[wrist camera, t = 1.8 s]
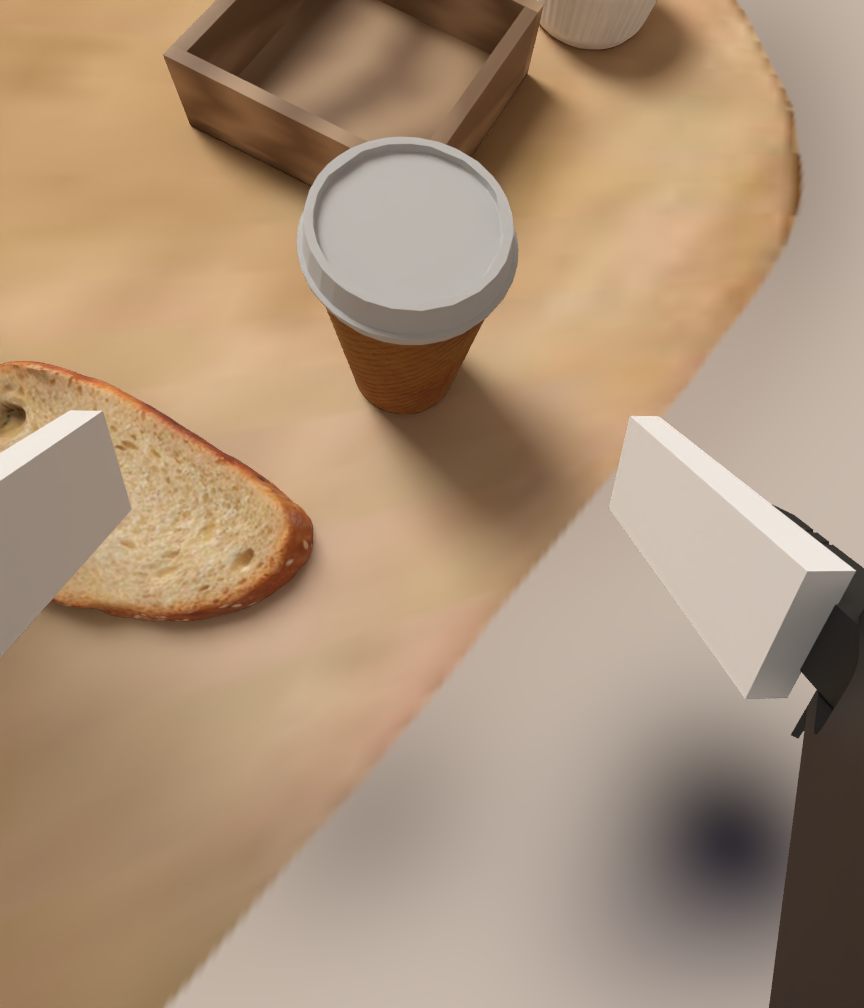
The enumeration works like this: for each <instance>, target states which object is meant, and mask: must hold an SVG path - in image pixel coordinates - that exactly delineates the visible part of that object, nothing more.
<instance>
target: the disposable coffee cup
mask: <svg viewBox="0 0 864 1008" xmlns="http://www.w3.org/2000/svg"><path fill="white" fill-rule="evenodd" d="M297 254H298V258H299V262H300V266H301V270H302V272H303V274H304V276H305V278H306V280H307V283H308V285H309V287H310V289H311V291H312V292H313V293H314V294H315V295H316V297H317V298H318V299H319V300H320V301H321V302H322V303H323V305H324V306H325V307H326V309H327V312H328V314H329V316H330V320H331V322H332V323H333V327H334V329H335V331H336V334H337V336H338V339H339V341H340V343H341V346H342V348H343V351H344V354H345V356H346V358H347V360H348V363H349V365H350V368H351V370H352V373H353V375H354V378H355V381H356V384H357V386H358V388H359V390H360V391H361V393H362V394H363V395H364V396H365V398H366V399H368V400H369V401H370V402H371V403H372V404H373V405H375V406H377V407H379V408H381V409H382V410H385V411H388V412H391V413H399V414H412V413H418V412H421V411H424V410H426V409H429V408H431V407H432V406H434V405H435V404H437V403H438V402H439V401H440V400H441V399H442V398H443V397H444V396H445V394H446V393H447V391H448V390H449V387H450V385H451V383H452V381H453V379H454V378H455V376H456V374H457V372H458V370H459V368H460V366H461V364H462V362H463V360H464V359H465V357H466V355H467V353H468V351H469V348H470V346H471V344H472V343H473V341H474V339H475V337H476V335H477V333H478V331H479V329H480V327H481V325H482V323H483V321H484V319H485V318H487V317H488V316H489V315H490V313H491V312H492V311H493V310H494V309H495V308H496V307H497V306H498V305H499V304H500V302H501V301H502V300H503V299H504V297H505V295H506V293H507V291H508V290H509V288H510V286H511V284H512V282H513V279H514V275H515V272H516V268H517V262H518V243H517V235H516V232H515V229H514V226H513V216H512V212H511V209H510V205H509V202H508V199H507V197H506V195H505V193H504V192H503V190H502V188H501V186H500V185H499V184H498V182H497V181H496V180H495V178H494V177H493V176H492V175H491V174H490V173H489V172H488V171H487V170H486V169H485V168H484V167H483V166H482V165H481V164H480V163H479V162H478V161H476V160H475V159H473V158H471V157H470V156H468V155H466V154H465V153H463V152H461V151H460V150H458V149H456V148H453V147H451V146H448V145H446V144H443V143H440V142H437V141H432V140H427V139H422V138H416V137H388V138H382V139H378V140H373V141H368V142H365V143H363V144H360V145H358V146H355V147H353V148H350V149H349V150H347V151H345V152H344V153H342V154H340V155H339V156H337V157H336V158H335V159H334V160H332V161H331V162H330V163H329V164H327V166H326V167H325V168H324V169H323V170H322V171H321V172H320V174H319V175H318V176H317V178H316V180H315V181H314V183H313V185H312V186H311V188H310V190H309V193H308V196H307V200H306V203H305V209H304V211H303V213H302V215H301V218H300V221H299V226H298V232H297Z"/></svg>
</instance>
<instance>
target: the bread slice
mask: <svg viewBox="0 0 864 1008" xmlns="http://www.w3.org/2000/svg"><path fill="white" fill-rule="evenodd" d="M70 410H77V411H103V413H104V416H105V419H106V423H107V426H108V430H109V433H110V436H111V440H112V443H113V447H114V450H115V453H116V457H117V460H118V464H119V467H120V470H121V474H122V477H123V481H124V484H125V487H126V491H127V494H128V498H129V501H130V504H131V508H132V510H131V511H130V512H129V513H128V514H127V515H126V517H125V518H124V519H123V520H122V521H121V522H120V523H119V525H118V526H117V527H116V528H115V529H114V530H113V531H112V532H111V534H110V535H109V536H108V537H107V538H106V539H105V540H104V541H103V543H102V544H101V545H100V546H99V547H98V548H97V549H96V551H95V552H94V553H93V554H92V555H91V556H90V557H89V558H88V560H87V561H86V562H85V563H84V564H83V565H82V566H81V567H80V569H79V570H78V571H77V572H76V573H75V574H74V575H73V577H72V578H71V579H70V580H69V581H68V582H67V583H66V584H65V586H64V587H63V588H62V589H61V590H60V591H59V592H58V593H57V595H56V596H55V597H54V598H53V599H52V600H53V601H55V602H56V603H58V604H61V605H64V606H68V607H73V608H86V607H91V608H97V609H99V610H102V611H104V612H106V613H108V614H110V615H113V616H118V617H128V618H135V619H140V620H150V621H193V620H201V619H206V618H210V617H214V616H219V615H223V614H227V613H230V612H233V611H237V610H240V609H243V608H246V607H249V606H251V605H253V604H255V603H257V602H259V601H261V600H262V599H264V598H266V597H268V596H270V595H271V594H273V593H274V592H275V591H277V590H278V589H279V588H281V587H282V586H283V585H285V584H286V583H287V582H288V581H290V580H291V579H292V578H293V577H294V576H295V574H296V573H297V572H298V570H299V569H300V568H301V567H302V566H303V565H304V564H305V563H306V562H307V560H308V558H309V555H310V553H311V550H312V544H313V525H312V522H311V520H310V518H309V517H308V516H307V514H306V513H305V512H304V511H303V509H302V508H301V507H300V506H298V505H297V504H295V503H294V502H292V501H291V500H290V499H289V498H288V497H287V496H286V495H285V494H284V493H283V492H282V491H281V490H279V489H278V488H277V487H276V486H275V485H274V484H273V483H271V482H270V481H268V480H267V479H266V478H264V477H263V476H261V475H260V474H258V473H257V472H255V471H254V470H253V469H251V468H250V467H248V466H247V465H245V464H244V463H242V462H241V461H239V460H237V459H236V458H234V457H231V456H229V455H227V454H225V453H223V452H222V451H220V450H219V449H217V448H216V447H214V446H213V445H211V444H210V443H208V442H207V441H205V440H204V439H203V438H201V437H199V436H198V435H196V434H194V433H193V432H191V431H189V430H188V429H186V428H185V427H183V426H181V425H180V424H178V423H177V422H175V421H174V420H173V419H171V418H170V417H168V416H166V415H165V414H163V413H161V412H159V411H158V410H156V409H155V408H153V407H151V406H150V405H148V404H146V403H144V402H142V401H140V400H138V399H136V398H135V397H133V396H131V395H129V394H127V393H125V392H123V391H122V390H120V389H118V388H116V387H115V386H112V385H110V384H108V383H106V382H103V381H101V380H98V379H95V378H90V377H86V376H83V375H81V374H78V373H76V372H73V371H70V370H67V369H64V368H61V367H57V366H54V365H49V364H45V363H40V362H33V361H16V362H8V363H3V364H0V453H1V452H3V451H4V450H6V449H8V448H9V447H11V446H12V445H14V444H16V443H17V442H19V441H21V440H22V439H24V438H26V437H27V436H29V435H30V434H32V433H34V432H35V431H37V430H39V429H40V428H42V427H44V426H45V425H47V424H48V423H50V422H52V421H53V420H55V419H57V418H58V417H60V416H62V415H63V414H65V413H66V412H68V411H70Z"/></svg>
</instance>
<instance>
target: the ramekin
mask: <svg viewBox="0 0 864 1008" xmlns="http://www.w3.org/2000/svg"><path fill="white" fill-rule="evenodd" d="M537 1H539V2H541V3H544V7H543V11H542V15H541V19H540V25H541V26H542V27H543V28H544V29H545V30H546V31H547V32H548V33H549V34H550V35H551V36H553V37H554V38H556V39H557V40H559V41H561V42H563V43H565V44H567V45H570V46H573V47H577V48H581V49H594V50H597V49H607V48H612V47H615V46H617V45H620V44H621V43H623V42H625V41H626V40H628V39H629V38H631V37H632V36H633V35H634V34H636V33H637V32H638V30H639V29H640V28H641V27H642V26H643V24H644V23H645V21H646V19H647V18H648V16H649V14H650V12H651V10H652V9H653V7H654V5H655V3H656V2H657V0H537Z"/></svg>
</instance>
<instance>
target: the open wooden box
mask: <svg viewBox="0 0 864 1008" xmlns="http://www.w3.org/2000/svg"><path fill="white" fill-rule="evenodd" d="M543 7H544V3H541V2H539V1H537V0H216V1H215V2H214V3H213V4H212V5H211V6H210V7H209V8H208V9H207V10H206V11H205V12H204V13H203V14H202V15H201V16H200V17H199V18H198V19H197V20H196V21H195V22H194V23H193V24H192V26H191V27H190V28H189V29H188V30H187V31H186V32H185V33H184V34H183V35H182V36H181V37H180V38H179V39H178V40H177V41H176V42H175V43H174V44H173V45H172V46H171V47H170V48H169V49H168V50H167V51H166V52H165V53H164V54H163V56H164V59H165V61H166V64H167V66H168V69H169V71H170V74H171V77H172V79H173V82H174V84H175V87H176V89H177V92H178V94H179V97H180V100H181V102H182V105H183V107H184V110H185V112H186V115H187V117H188V120H189V123H190V125H191V126H193V127H195V128H197V129H199V130H201V131H203V132H205V133H207V134H209V135H211V136H213V137H215V138H217V139H219V140H221V141H223V142H225V143H227V144H229V145H231V146H233V147H235V148H237V149H239V150H241V151H243V152H245V153H247V154H249V155H251V156H253V157H255V158H257V159H259V160H261V161H263V162H265V163H267V164H269V165H271V166H273V167H275V168H277V169H279V170H281V171H282V172H284V173H286V174H288V175H290V176H292V177H294V178H296V179H298V180H300V181H302V182H304V183H306V184H308V185H310V186H312V185H313V183H314V181H315V180H316V178H317V176H318V175H319V174H320V172H321V171H322V170H323V169H324V168H325V167H326V166H327V164H329V163H330V162H331V161H332V160H334V159H335V158H336V157H337V156H339V155H340V154H342V153H344V152H345V151H347V150H349V149H350V148H353V147H355V146H358V145H360V144H363V143H365V142H368V141H373V140H378V139H382V138H388V137H416V138H422V139H427V140H432V141H437V142H440V143H443V144H446V145H448V146H451V147H453V148H456V149H458V150H460V151H461V152H463V153H465V154H466V155H468V156H470V157H472V155H473V154H474V152H475V151H476V149H477V148H478V146H479V145H480V143H481V142H482V140H483V139H484V137H485V136H486V134H487V133H488V131H489V130H490V128H491V127H492V125H493V124H494V122H495V121H496V119H497V118H498V116H499V115H500V113H501V112H502V110H503V109H504V107H505V106H506V105H507V103H508V102H509V100H510V99H511V97H512V96H513V94H514V93H515V91H516V90H517V88H518V87H519V85H520V84H521V82H522V81H523V79H524V78H525V76H526V75H527V73H528V69H529V65H530V61H531V57H532V52H533V48H534V44H535V40H536V36H537V32H538V27H539V23H540V19H541V15H542V11H543Z"/></svg>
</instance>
